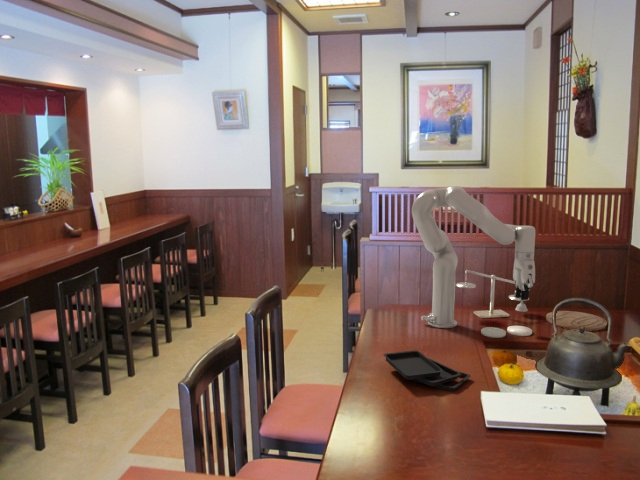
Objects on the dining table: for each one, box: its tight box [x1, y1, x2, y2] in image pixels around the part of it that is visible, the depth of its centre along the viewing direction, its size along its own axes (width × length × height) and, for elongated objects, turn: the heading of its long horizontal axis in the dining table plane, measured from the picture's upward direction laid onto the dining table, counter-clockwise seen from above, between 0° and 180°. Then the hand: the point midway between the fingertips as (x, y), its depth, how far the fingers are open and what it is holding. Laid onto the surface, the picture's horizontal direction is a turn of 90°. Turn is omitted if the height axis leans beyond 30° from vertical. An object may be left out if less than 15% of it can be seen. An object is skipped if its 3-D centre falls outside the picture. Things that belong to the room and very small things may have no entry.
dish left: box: [480, 326, 507, 339], centre depth 236 cm, size 10×10×1 cm
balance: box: [455, 269, 530, 319], centre depth 261 cm, size 36×9×22 cm, turn 101°
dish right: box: [506, 325, 533, 337], centre depth 239 cm, size 10×10×1 cm
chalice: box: [514, 267, 529, 313], centre depth 236 cm, size 7×7×18 cm
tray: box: [383, 349, 471, 392], centre depth 191 cm, size 30×23×5 cm
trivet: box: [545, 310, 608, 330], centre depth 252 cm, size 25×25×2 cm
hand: (521, 297), depth 236 cm, fingers closed on chalice, 3 cm apart
